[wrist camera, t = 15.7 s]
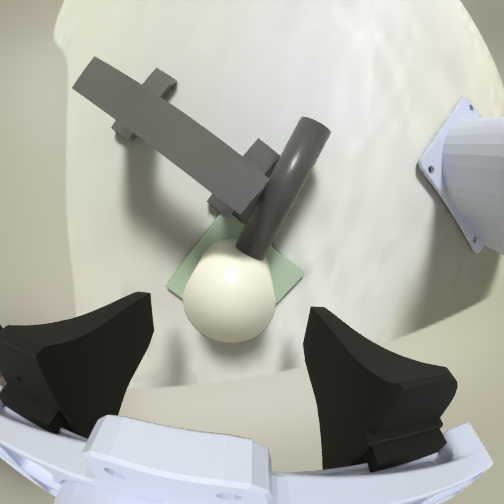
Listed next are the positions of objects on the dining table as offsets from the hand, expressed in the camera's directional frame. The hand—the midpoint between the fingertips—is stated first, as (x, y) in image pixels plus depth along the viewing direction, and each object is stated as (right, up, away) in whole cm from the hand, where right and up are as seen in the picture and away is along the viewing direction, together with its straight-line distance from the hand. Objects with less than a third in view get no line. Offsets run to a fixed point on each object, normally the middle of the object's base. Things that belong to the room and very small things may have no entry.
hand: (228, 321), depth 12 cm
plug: (+1, +4, +4) cm, 6 cm away
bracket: (-2, +9, +2) cm, 10 cm away
